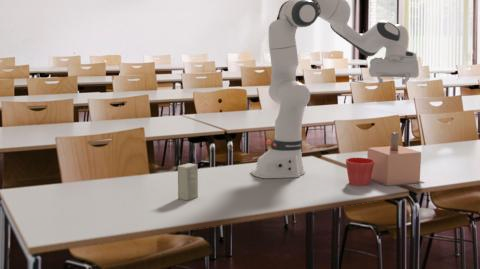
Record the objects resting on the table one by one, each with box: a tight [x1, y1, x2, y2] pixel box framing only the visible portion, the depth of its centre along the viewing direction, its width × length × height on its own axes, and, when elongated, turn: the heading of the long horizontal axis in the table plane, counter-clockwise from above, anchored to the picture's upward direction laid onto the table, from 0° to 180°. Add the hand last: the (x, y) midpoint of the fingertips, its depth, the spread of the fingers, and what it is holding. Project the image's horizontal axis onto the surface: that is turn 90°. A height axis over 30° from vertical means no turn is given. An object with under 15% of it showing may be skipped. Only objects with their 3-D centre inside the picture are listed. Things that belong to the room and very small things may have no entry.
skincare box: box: [177, 162, 199, 201], centre depth 244 cm, size 6×4×12 cm
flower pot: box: [345, 157, 374, 187], centre depth 265 cm, size 11×11×10 cm
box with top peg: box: [367, 131, 422, 185], centre depth 271 cm, size 15×15×19 cm
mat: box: [370, 179, 425, 188], centre depth 273 cm, size 18×18×1 cm
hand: (392, 83), depth 279 cm, fingers open, 8 cm apart
